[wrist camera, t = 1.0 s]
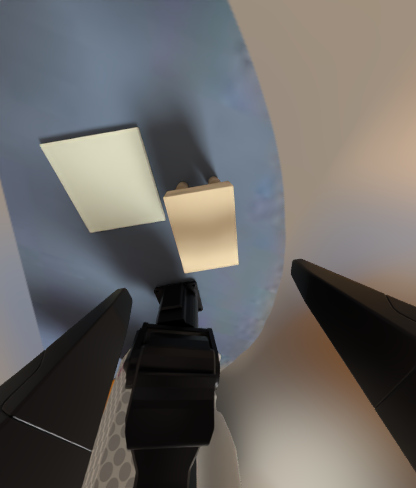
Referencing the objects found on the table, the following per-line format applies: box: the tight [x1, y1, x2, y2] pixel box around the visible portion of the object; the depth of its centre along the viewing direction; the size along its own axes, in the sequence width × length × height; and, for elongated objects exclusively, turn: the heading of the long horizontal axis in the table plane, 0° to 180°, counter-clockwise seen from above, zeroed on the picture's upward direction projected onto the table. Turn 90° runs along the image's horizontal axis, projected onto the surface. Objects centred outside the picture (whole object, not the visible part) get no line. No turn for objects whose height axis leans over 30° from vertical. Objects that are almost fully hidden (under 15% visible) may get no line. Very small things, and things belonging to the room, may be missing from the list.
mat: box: [39, 127, 166, 233], centre depth 17 cm, size 9×9×1 cm
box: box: [82, 348, 136, 488], centre depth 23 cm, size 8×8×25 cm
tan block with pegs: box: [163, 176, 239, 273], centre depth 16 cm, size 7×5×7 cm
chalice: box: [197, 353, 241, 488], centre depth 29 cm, size 7×7×18 cm
